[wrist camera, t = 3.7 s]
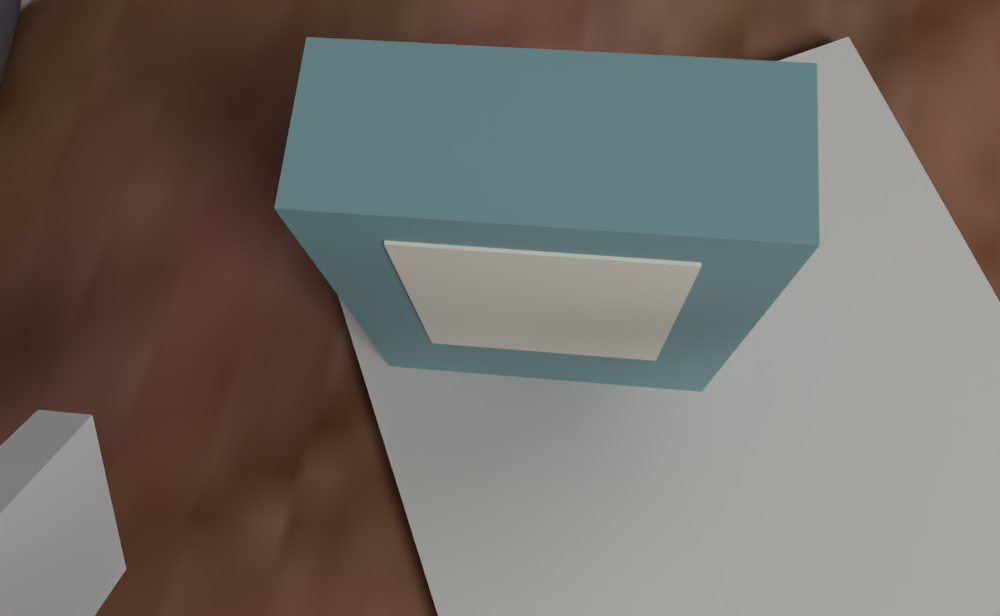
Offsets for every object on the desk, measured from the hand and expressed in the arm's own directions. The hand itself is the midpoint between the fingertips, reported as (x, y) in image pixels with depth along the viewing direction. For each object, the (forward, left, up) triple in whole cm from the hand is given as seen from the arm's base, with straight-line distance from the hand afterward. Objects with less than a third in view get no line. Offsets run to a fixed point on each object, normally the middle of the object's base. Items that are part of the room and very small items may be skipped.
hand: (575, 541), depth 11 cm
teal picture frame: (-6, +2, -10) cm, 11 cm away
